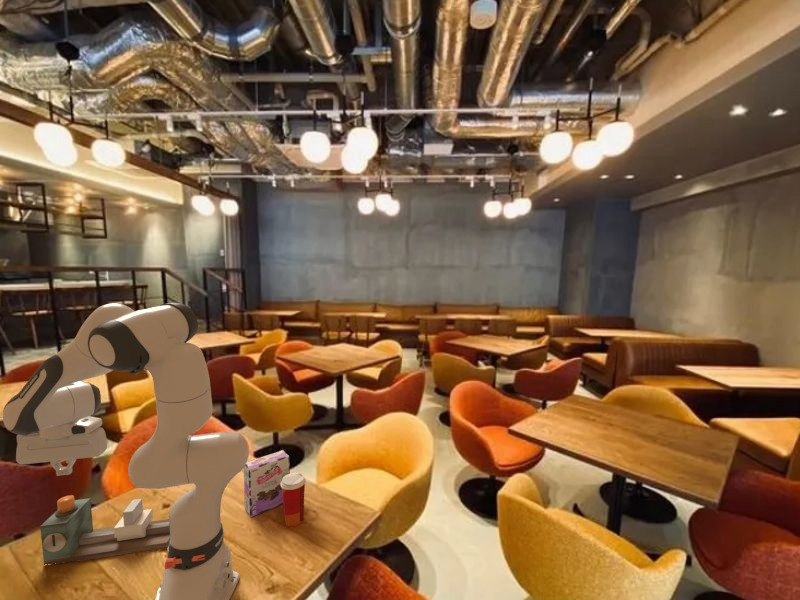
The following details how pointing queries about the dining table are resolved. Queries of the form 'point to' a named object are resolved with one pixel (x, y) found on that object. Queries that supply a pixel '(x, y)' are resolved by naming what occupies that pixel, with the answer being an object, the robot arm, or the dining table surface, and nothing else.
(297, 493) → the paper cup
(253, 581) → the dining table surface
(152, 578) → the dining table surface
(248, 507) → the candy box
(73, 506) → the button
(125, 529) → the carriage
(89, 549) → the rail base
